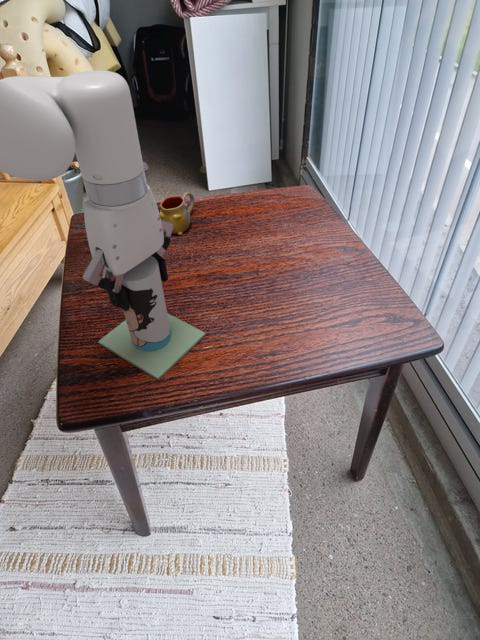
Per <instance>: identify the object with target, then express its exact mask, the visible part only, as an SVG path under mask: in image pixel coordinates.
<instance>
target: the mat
mask: <svg viewBox="0 0 480 640" xmlns="http://www.w3.org/2000/svg"><path fill="white" fill-rule="evenodd" d="M167 314H168V319H169V325H170V330H171V335H172V336H171V340H170V341H169V343H168V344H167V345H166V346H165V347H163V348H162V349H159V350H157V351H152V352H144V351H141V350H139V349H137V348H136V347H135V346H134V345H133V343H132V339H131V336H130V332H129V329H128V325H127V322H126V319H124V320H123V321H122V322H121V323H120V324H119V325H117V326H116V327H115V328H113V329H112V330H111V331H109V332H108V333H107V334H106V335H104V336H103V337H102V338H101V339H99V340H98V341H97V343H98V345H100V346H102V347H103V348H105V349H107V350H109V351H110V352H112V353H113V354H115V355H117V356H118V357H120V358H121V359H124V360H125V361H126V362H128V363H130V364H131V365H133V366H134V367H136V368H138V369H139V370H140V371H143V372H144V373H146V374H147V375H149V376H151V377H152V378H154V379H155V380H158V381H160V380H161V379H162V378H163V377H164V376H165V375H166V374H167V373H168V372H169V371H170V370H171V369H172V368H173V367H175V365H177V364H178V363H179V362H180V361H181V360H182V359H183V358H184V357H185V356H186V355H187V354H188V353H189V352H190V351H191V350H192V349H193V348H194V347H195V346H197V344H198V343H199V342H200V341H202V339H204V338H205V337H206V336H207V334H206V333H207V332H205V331H203V330H201V329H199V328H197V327H195V326H193V325H191V324H189V323H187V322H185V321H183V320H181V319H179V318H178V317H176V316H174V315H171V314H170V313H168V312H167Z"/></svg>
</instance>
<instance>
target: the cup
mask: <svg viewBox="0 0 480 640" xmlns="http://www.w3.org/2000/svg"><path fill="white" fill-rule="evenodd" d="M112 276H113V277H114V274H113V273H112ZM121 287H122V288H124V289H125V291H126V294H127V298H128V302H129V306H130V309H129V310H128V311H125V310H123V309H122V311H123V314H124V318H125V320H126V322H127V325H128V329H129V332H130V336H131V339H132V343H133V345H134V346H135V347H136V348H137V349H139V350H141V351H144V352H152V351H157V350H159V349H162V348H163V347H165V346H166V345H167V344H168V343H169V341H170V340H171V336H172V335H171V330H170V325H169V319H168V314H169V313H168V310H167V304H166V299H165V293H164V288H163V281H162V280H161V277H160V271H159V266H158V261H157V260H156V259H155V258H154V257H152V256H149V257H148V258H147V259H145V260H144V261H142V262H141V263H139V264H138V265H136V266H135V267H134V268H132V269H130V270H129V271H127V272H126V273H124V276H123V281H122V285H121ZM167 313H168V314H167Z"/></svg>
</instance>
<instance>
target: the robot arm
mask: <svg viewBox="0 0 480 640" xmlns="http://www.w3.org/2000/svg"><path fill="white" fill-rule="evenodd" d="M133 105H134V104H133V99H132V94H131V90H130V86H129V84H128V82H127V80H126V79H125V78H124V77H123V76H122V75H120V74H119V73H117V72H115V71H110V70H104V69H95V70H94V69H92V70H84V71H78V72H74V73H72V74H69V75H68V76H33V75H31V76H30V75H15V76H9V77H4V78H1V79H0V172H2V173H4V174H6V175H9V176H12V177H15V178H18V179H22V180H27V181H32V182H44V181H50V180H53V179H57V178H58V177H60V176H62V175H63V174H64V173H65V172H67V170H69V168H70V166H72V164H73V162H74V158H75V157H76V160H77V165H78V168H79V171H80V175H81V179H82V181H83V182H82V183H83V186H84V188H85V192H86V195H87V200H85V201H84V202H83V217H84V218H83V219H84V226H85V227H84V228H85V233H86V238H87V243H88V247H89V251H90V254H91V259H90V260H91V261H90V262H89V264H88V265H87V267H86V269H85V271H84V273H83V275H82V280H84V281H85V282H87V283H89V284H91V285H94V286H95V287H98V288H100V289H102V290H105V291H107V295H108V298H109V300H110V304H111V305H112V306H114V307H115V308H119V309H120V310H122V311H123V310H125V311H128V310H129V309H130V306H129V302H128V298H127V294H126V291H125V289H124V288H122V287H121V285H122V281H123V276H124V273H126V272H127V271H129V270H130V269H132V268H134V267H135V266H136V265H138V264H139V263H141V262H142V261H144V260H145V259H147V258H148V257H149V256H152V257H154V258H155V259H156V260H157V261H158V266H159V271H160V277H161V282H167V281H169V274H168V269H167V263H166V259H167V258H168V256H169V253H168V248H169V246H170V243H171V237H172V230H173V224H172V223H169V222H167V221H163V220H161V218H160V214H159V213H160V210H159V208H158V204H157V201H156V199H155V196H154V193H153V192H152V189H151V187H150V185H149V184H148V183H147V182H148V181H147V177H146V173H147V172H148V171H149V165H148V163H146V162H145V161H143V155H142V151H141V144H140V139H139V133H138V128H137V122H136V117H135V111H134V106H133ZM102 270H103V271H102ZM101 272H102V276H100V273H101ZM113 274H114V276H113ZM112 276H113V280H112Z"/></svg>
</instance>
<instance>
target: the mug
mask: <svg viewBox="0 0 480 640" xmlns="http://www.w3.org/2000/svg"><path fill="white" fill-rule="evenodd" d="M187 196H188V197H189V200H190V201H189V205H188V203H186V201H185V200H186V198H187ZM194 205H195V196H194V194H193V193H192V192H190V191H185V192H184V193H183V194H182V195H179V194H178V195H171V196H167V197H165V198H163V199H162V200H161V201H160V204H159V207H160V210H159V214H160V218H161V220H163V221H167V222H169V223H172V224H173V230H172V233H171V235H178V236H182V235H183V234H184V232H186V231H187V230H188V229H189V228H190V226H191V221H192V219H191V213H192V211H193V208H194Z"/></svg>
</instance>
